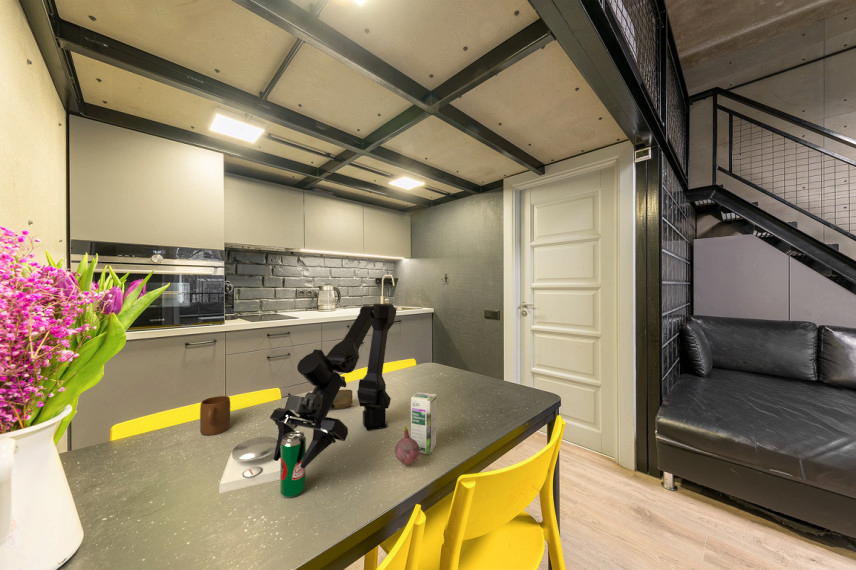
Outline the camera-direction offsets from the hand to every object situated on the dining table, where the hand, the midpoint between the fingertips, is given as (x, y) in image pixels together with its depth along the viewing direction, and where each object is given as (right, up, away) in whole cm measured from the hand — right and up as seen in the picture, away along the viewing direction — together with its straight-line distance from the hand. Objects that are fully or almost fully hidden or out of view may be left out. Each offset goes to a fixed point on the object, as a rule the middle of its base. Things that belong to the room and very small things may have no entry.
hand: (288, 464), depth 65 cm
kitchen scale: (-12, -7, +9) cm, 17 cm away
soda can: (+1, -7, +1) cm, 7 cm away
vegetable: (+25, -7, +11) cm, 28 cm away
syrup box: (+29, -7, +19) cm, 35 cm away
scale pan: (-13, -5, +11) cm, 17 cm away
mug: (-35, -7, +27) cm, 45 cm away
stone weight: (-5, -7, +46) cm, 47 cm away
